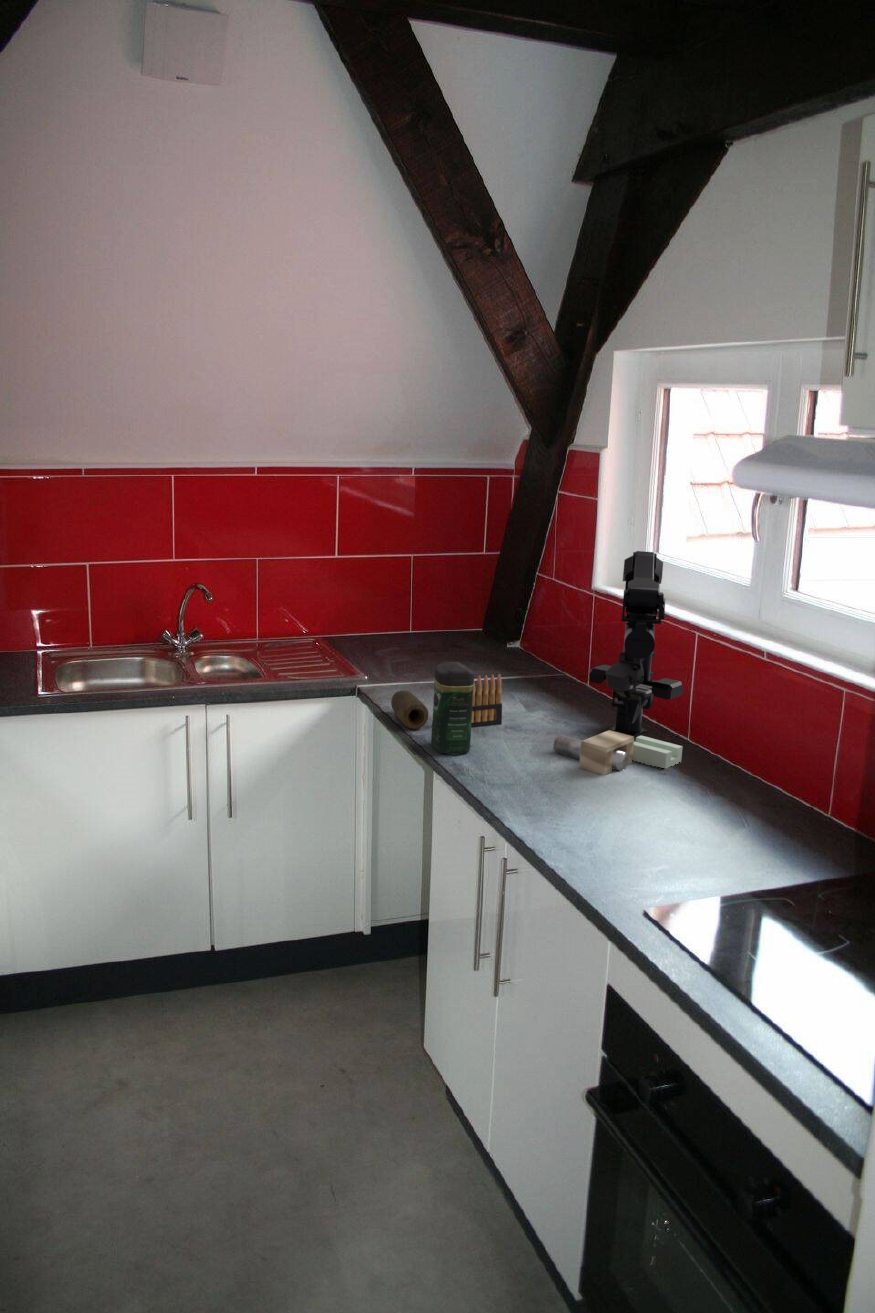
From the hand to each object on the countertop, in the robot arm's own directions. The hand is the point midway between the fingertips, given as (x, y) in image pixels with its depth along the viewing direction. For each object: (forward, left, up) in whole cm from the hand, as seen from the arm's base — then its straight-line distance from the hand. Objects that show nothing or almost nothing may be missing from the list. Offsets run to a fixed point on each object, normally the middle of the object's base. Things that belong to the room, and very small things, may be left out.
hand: (631, 722), depth 223 cm
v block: (-11, 0, -11) cm, 15 cm away
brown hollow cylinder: (+7, -53, -11) cm, 54 cm away
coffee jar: (+15, -34, -11) cm, 39 cm away
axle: (0, -9, -11) cm, 14 cm away
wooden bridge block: (0, -5, -11) cm, 12 cm away
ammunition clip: (-3, -40, -11) cm, 42 cm away
